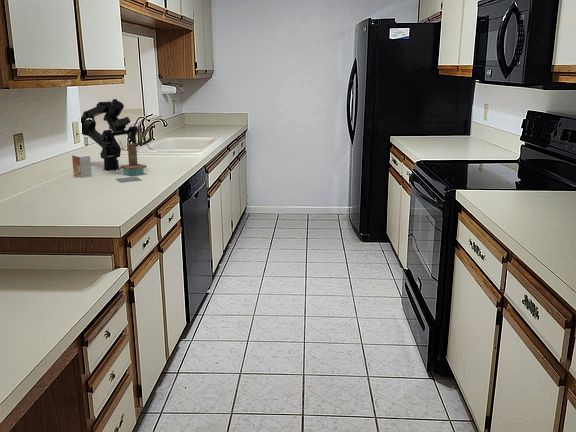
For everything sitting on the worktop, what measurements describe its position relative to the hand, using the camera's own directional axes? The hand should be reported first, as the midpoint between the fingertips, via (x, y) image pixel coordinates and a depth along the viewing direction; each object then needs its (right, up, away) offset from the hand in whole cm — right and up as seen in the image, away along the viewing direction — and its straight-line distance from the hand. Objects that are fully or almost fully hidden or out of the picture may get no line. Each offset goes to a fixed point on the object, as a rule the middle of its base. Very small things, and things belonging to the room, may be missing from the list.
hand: (127, 146), depth 276 cm
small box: (-21, -15, -4) cm, 26 cm away
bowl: (+3, -14, 0) cm, 14 cm away
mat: (+4, -18, -13) cm, 23 cm away
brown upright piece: (+3, -11, -1) cm, 11 cm away
